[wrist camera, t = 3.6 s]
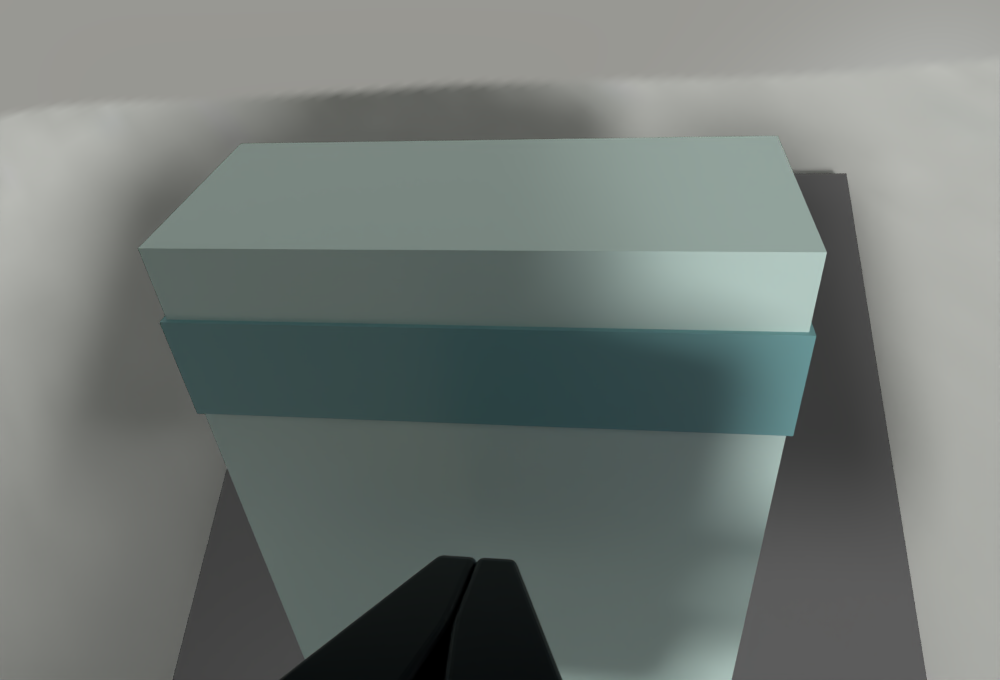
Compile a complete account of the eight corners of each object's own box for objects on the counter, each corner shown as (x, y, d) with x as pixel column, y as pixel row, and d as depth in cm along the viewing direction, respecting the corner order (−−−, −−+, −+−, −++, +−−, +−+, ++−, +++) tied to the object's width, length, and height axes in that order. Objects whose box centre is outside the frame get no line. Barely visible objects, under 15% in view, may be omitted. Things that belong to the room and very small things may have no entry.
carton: (709, 798, 12) (834, 256, 6) (340, 760, 13) (130, 250, 7) (696, 652, 14) (781, 134, 8) (377, 628, 15) (239, 141, 9)
